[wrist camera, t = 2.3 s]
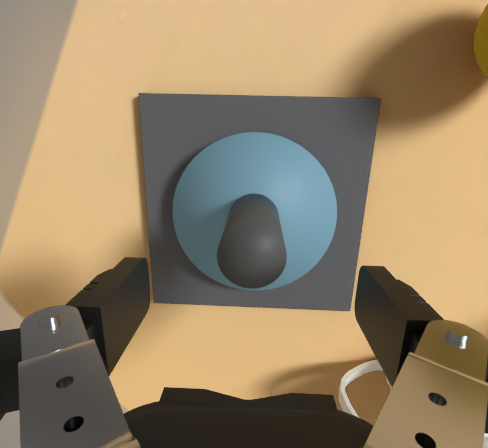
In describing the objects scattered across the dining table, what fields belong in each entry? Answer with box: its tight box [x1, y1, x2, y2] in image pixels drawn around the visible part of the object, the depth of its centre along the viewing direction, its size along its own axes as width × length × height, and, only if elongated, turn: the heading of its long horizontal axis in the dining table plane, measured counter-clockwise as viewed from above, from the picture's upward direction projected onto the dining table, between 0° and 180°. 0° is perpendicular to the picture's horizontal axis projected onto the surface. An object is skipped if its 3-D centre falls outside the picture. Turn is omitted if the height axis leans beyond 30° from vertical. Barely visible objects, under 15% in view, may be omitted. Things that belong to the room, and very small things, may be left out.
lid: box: [173, 132, 337, 291], centre depth 17 cm, size 10×10×7 cm
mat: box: [139, 93, 381, 311], centre depth 21 cm, size 14×14×1 cm
